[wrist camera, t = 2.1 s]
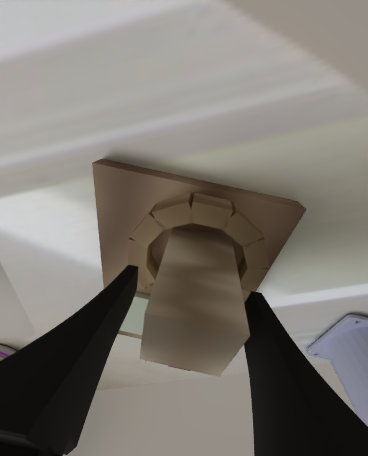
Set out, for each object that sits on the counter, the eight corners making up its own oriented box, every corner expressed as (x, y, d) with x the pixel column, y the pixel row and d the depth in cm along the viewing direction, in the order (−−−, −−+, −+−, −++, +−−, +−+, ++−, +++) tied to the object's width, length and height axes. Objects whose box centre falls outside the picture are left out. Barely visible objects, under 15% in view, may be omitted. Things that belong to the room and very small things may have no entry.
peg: (231, 237, 13) (249, 335, 7) (214, 278, 16) (218, 377, 10) (173, 225, 13) (144, 312, 7) (165, 267, 16) (139, 359, 10)
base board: (298, 201, 12) (318, 220, 10) (215, 345, 24) (216, 369, 21) (101, 158, 12) (77, 168, 10) (112, 322, 24) (102, 344, 21)
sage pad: (186, 303, 18) (186, 308, 17) (175, 338, 22) (175, 342, 21) (118, 288, 18) (116, 292, 17) (119, 325, 22) (117, 329, 21)
